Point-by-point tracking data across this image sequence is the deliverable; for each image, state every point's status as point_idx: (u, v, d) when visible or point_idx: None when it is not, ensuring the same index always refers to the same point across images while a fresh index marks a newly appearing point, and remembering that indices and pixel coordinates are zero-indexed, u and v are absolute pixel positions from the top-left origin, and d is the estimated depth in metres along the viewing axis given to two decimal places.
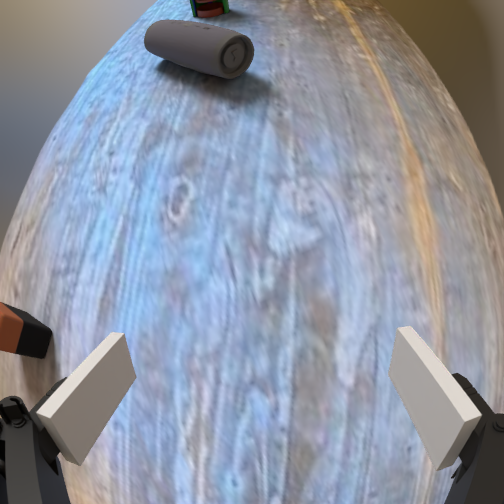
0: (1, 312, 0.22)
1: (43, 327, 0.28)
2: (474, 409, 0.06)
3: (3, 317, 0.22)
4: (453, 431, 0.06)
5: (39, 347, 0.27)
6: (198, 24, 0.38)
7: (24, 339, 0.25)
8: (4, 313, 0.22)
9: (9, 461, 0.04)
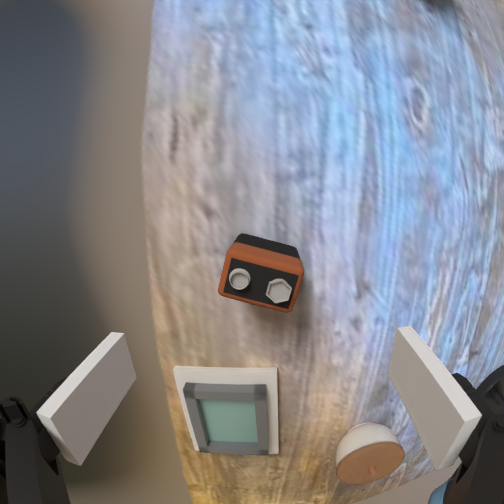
0: (296, 267, 0.25)
1: (296, 250, 0.31)
2: (474, 409, 0.06)
3: (303, 272, 0.25)
4: (453, 431, 0.06)
5: None
6: None
7: None
8: (299, 266, 0.25)
9: (9, 461, 0.04)
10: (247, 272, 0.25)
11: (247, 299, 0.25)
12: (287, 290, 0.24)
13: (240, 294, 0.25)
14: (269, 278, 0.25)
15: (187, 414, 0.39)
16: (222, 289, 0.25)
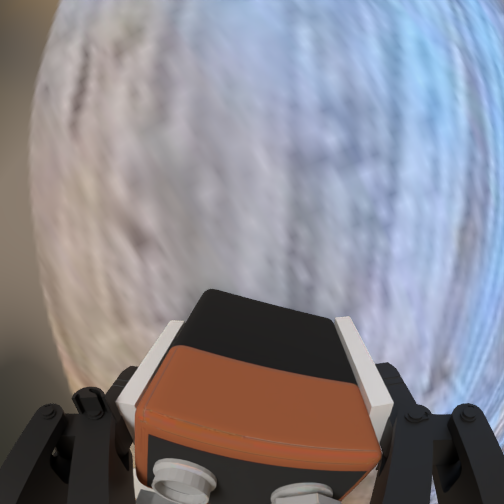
0: (363, 453, 0.06)
1: (336, 333, 0.13)
2: (386, 396, 0.08)
3: (380, 458, 0.06)
4: None
5: None
6: None
7: None
8: (370, 444, 0.06)
9: (77, 455, 0.06)
10: (205, 472, 0.06)
11: None
12: None
13: None
14: (274, 483, 0.06)
15: None
16: (144, 480, 0.07)
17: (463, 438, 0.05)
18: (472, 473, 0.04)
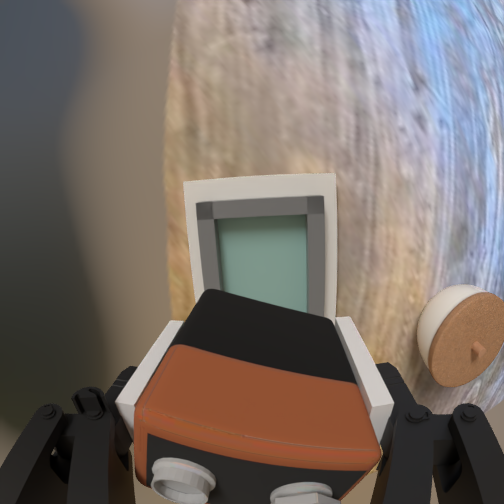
0: (363, 453, 0.06)
1: (335, 333, 0.13)
2: (387, 396, 0.08)
3: None
4: None
5: None
6: None
7: None
8: (369, 444, 0.06)
9: (77, 455, 0.06)
10: (205, 471, 0.06)
11: None
12: None
13: None
14: (274, 482, 0.06)
15: (196, 271, 0.28)
16: (143, 480, 0.07)
17: (463, 438, 0.05)
18: (472, 473, 0.04)
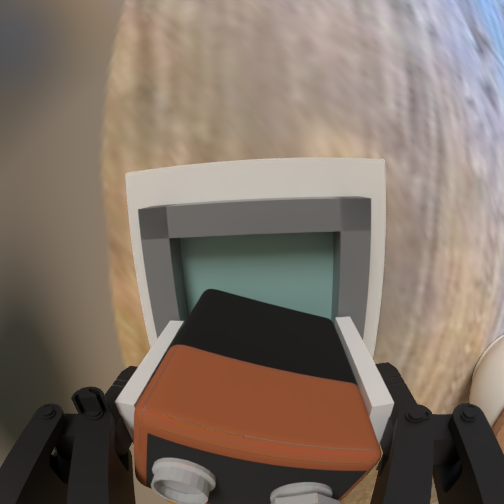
0: (362, 453, 0.06)
1: (335, 333, 0.13)
2: (387, 396, 0.08)
3: None
4: None
5: None
6: None
7: None
8: (369, 444, 0.06)
9: (77, 455, 0.06)
10: (205, 471, 0.06)
11: None
12: None
13: None
14: (274, 482, 0.06)
15: (151, 318, 0.17)
16: (143, 480, 0.07)
17: (463, 438, 0.05)
18: (472, 473, 0.04)
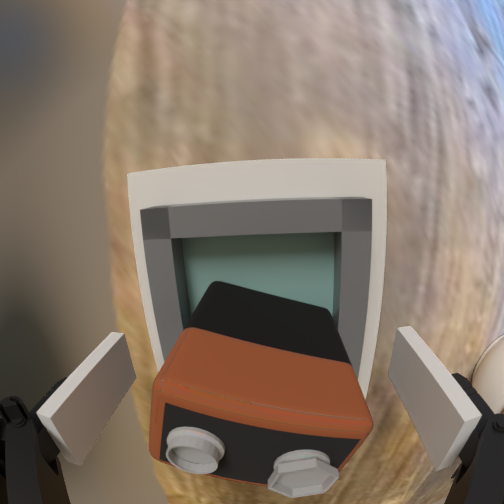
0: (356, 421, 0.07)
1: (332, 321, 0.14)
2: (474, 409, 0.06)
3: (372, 428, 0.07)
4: (453, 431, 0.06)
5: None
6: None
7: None
8: (362, 414, 0.07)
9: (9, 461, 0.04)
10: (215, 439, 0.07)
11: (220, 476, 0.08)
12: (326, 473, 0.07)
13: None
14: (277, 450, 0.07)
15: (152, 318, 0.17)
16: (157, 454, 0.08)
17: None
18: None
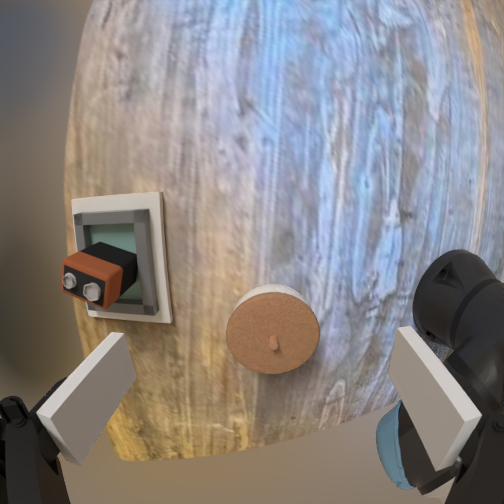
0: (104, 275, 0.28)
1: (133, 257, 0.35)
2: (474, 409, 0.06)
3: (109, 279, 0.28)
4: (453, 431, 0.06)
5: (133, 277, 0.36)
6: None
7: (124, 281, 0.33)
8: (107, 274, 0.29)
9: (9, 461, 0.04)
10: (73, 276, 0.28)
11: (77, 296, 0.29)
12: (97, 292, 0.28)
13: (72, 292, 0.29)
14: (87, 282, 0.28)
15: None
16: (62, 287, 0.29)
17: None
18: None
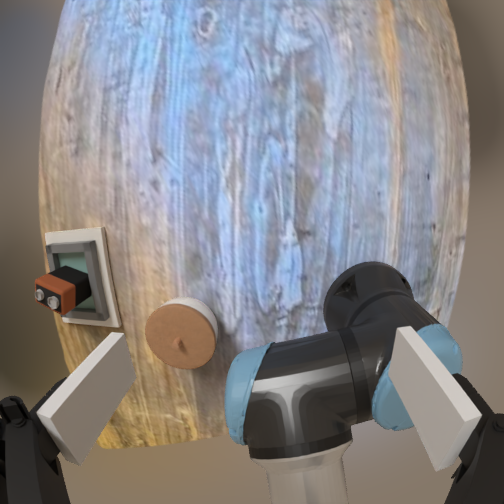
0: (60, 290, 0.37)
1: (86, 277, 0.44)
2: (474, 409, 0.06)
3: (63, 293, 0.37)
4: (453, 431, 0.06)
5: (87, 291, 0.45)
6: None
7: (78, 294, 0.42)
8: (62, 290, 0.37)
9: (9, 461, 0.04)
10: (42, 291, 0.37)
11: (45, 305, 0.38)
12: (56, 302, 0.37)
13: (42, 302, 0.38)
14: (50, 295, 0.37)
15: None
16: (36, 299, 0.38)
17: None
18: None
